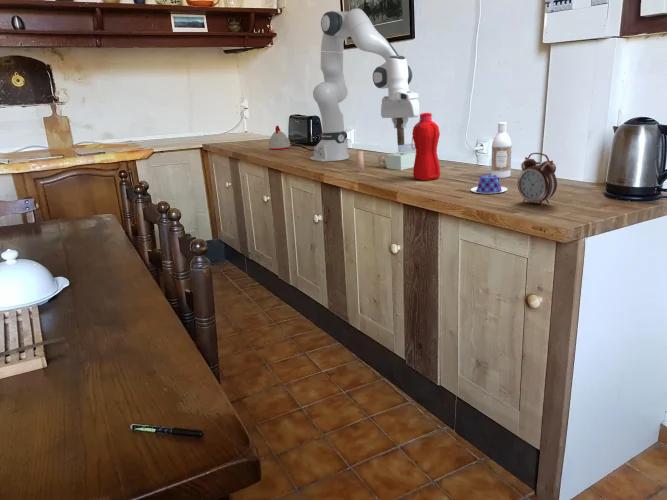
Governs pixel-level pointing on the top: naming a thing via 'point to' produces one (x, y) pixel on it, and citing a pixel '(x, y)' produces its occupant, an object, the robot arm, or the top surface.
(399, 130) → the long pin
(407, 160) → the hole block
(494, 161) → the bath foam
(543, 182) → the alarm clock
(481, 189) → the pudding
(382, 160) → the short pin
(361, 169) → the medium pin
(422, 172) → the water bottle
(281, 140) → the kitchen timer
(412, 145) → the medicine box
